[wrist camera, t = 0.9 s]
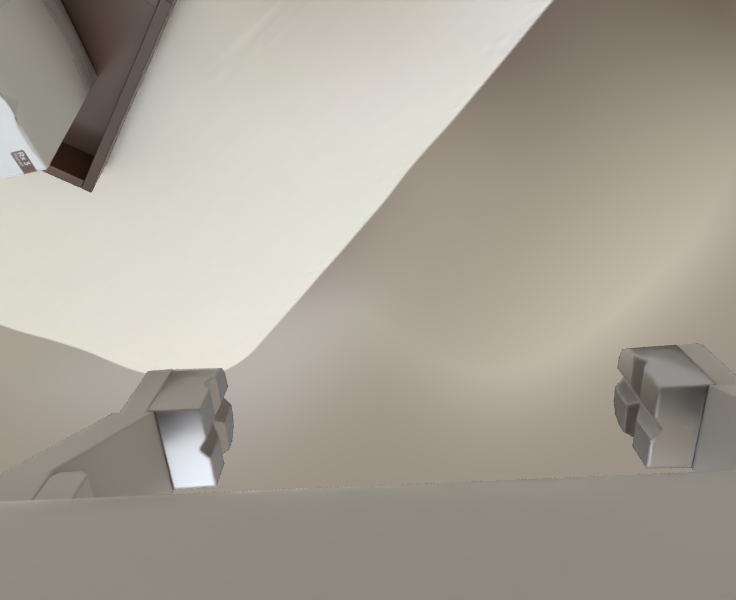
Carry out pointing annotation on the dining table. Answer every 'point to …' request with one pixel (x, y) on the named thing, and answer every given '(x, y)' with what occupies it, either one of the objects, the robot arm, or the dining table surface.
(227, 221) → the dining table surface
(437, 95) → the dining table surface
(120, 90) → the crate
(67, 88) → the cosmetic box
